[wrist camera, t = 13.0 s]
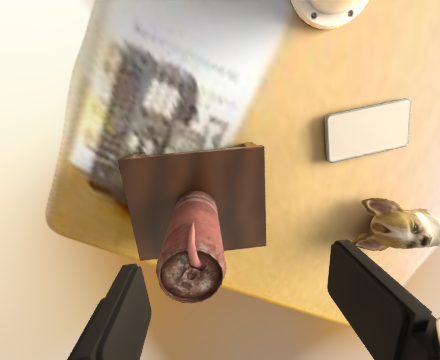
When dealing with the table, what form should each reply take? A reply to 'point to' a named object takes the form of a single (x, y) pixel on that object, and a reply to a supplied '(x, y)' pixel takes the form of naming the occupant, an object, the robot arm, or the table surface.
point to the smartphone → (367, 130)
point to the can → (192, 250)
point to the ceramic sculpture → (398, 227)
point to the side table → (197, 181)
